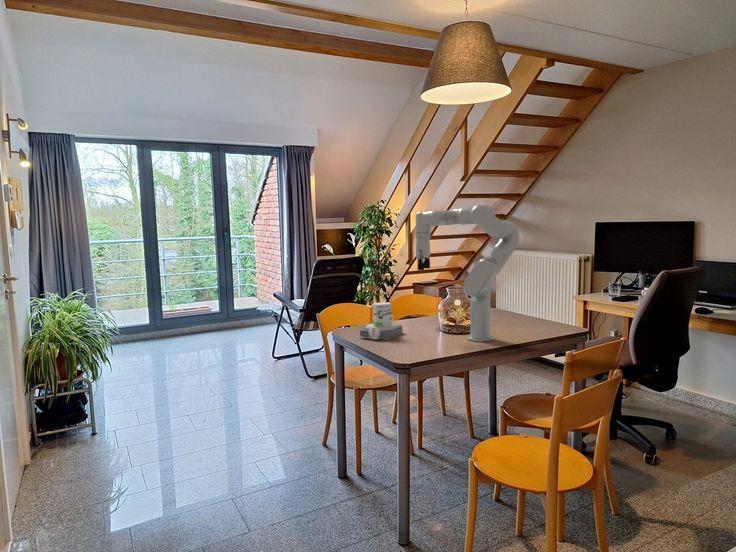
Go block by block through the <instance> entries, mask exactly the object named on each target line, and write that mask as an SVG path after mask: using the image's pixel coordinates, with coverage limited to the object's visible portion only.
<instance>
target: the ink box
mask: <svg viewBox="0 0 736 552" xmlns="http://www.w3.org/2000/svg"><path fill="white" fill-rule="evenodd" d="M372 308H373V309H372V311H373V312H372V315H373V323H374V326H375V327H386V326H392V322H393V318H392V313H393V312H392V310H393V309H392V303H390V302H388V301H386V302H375V303H372Z"/></svg>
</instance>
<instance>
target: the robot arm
mask: <svg viewBox="0 0 736 552" xmlns="http://www.w3.org/2000/svg"><path fill="white" fill-rule="evenodd" d="M452 225H454V226H455V225H461V226H464V225H477V226H478V228H480V229H481V230H483V231H484V232H485V233H486V234H487V235H489V236H490V237H491V238H492V239H496V240H498V241H497V243H496V244H495V245H494V247H493V249H492V250H491V252H490V253H489V254H488V255H487V256H486V257H483V258H481V259H479V260H478V261H477V262H476V263H475V264H474V265H473V267H472V268H471V270H470V271H469V273H468V275H467V276H466V278H465V280H464V282H463V285H462V289H463V292H464V293H465V294H466V296H468V297H470V299H469V300H470V301H469V302H470V304H469V315H470V317H469V319H470V320H469V324H470V325H469V327H470V328H469V330H470V331H469V334H468V335H467V336H466V338H467V340H469V341H471V342H483V343H484V342H491V341H493V340H494V335H492V334H491V296H492V295H491V294H492V288H493V287H492V286H493V284H492V280H491V278H493V277H496V276H498V275H499V274H500V273H501V272H502V271H503V268H504V267H505V265H506V264H507V262H508V261H509V259H510V257H511V256H512V255H513V253H514V251H515V250H516V248H517V246H518V243H519V240H520V232H519V229H518V227H517V226H516V224H515V223H514V222H513V221H511V220H508V219H500V218H498V216H496V211H495V209H494V208H493V206H491V205H489V204H479V205H471V206H463V207H460V208H457V209H449V210H431V211H417V212H416V213H415V239H416V242H415V243H416V245H415V258H416V260H417V271H425V269H430V268H431V242H430V240H431V238H432V234H431V232H432V227H436V226H437V227H439V226H452Z"/></svg>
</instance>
